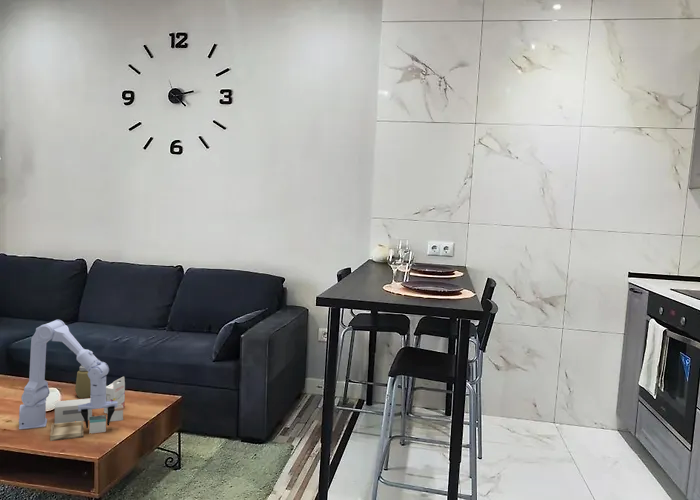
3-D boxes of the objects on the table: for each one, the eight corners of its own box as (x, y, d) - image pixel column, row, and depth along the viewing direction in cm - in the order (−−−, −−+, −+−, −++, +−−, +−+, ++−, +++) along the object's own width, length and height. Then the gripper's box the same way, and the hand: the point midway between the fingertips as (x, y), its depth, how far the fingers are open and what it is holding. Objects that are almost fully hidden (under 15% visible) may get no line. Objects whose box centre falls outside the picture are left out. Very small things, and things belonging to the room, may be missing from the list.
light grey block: (107, 421, 237) (107, 409, 236) (107, 418, 240) (107, 405, 240) (123, 420, 239) (123, 407, 239) (122, 416, 243) (122, 404, 242)
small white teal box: (89, 433, 225) (89, 420, 224) (89, 429, 228) (89, 416, 228) (105, 431, 227) (106, 418, 227) (105, 427, 231) (105, 414, 230)
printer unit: (54, 424, 231) (54, 407, 230) (55, 417, 238) (55, 401, 237) (91, 420, 237) (92, 404, 236) (91, 413, 244) (92, 397, 243)
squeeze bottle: (97, 395, 264) (98, 358, 262) (81, 400, 257) (82, 362, 255) (87, 391, 268) (87, 355, 266) (71, 396, 261) (71, 358, 259)
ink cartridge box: (114, 406, 253) (115, 374, 252) (124, 407, 252) (125, 375, 251) (103, 413, 245) (103, 380, 244) (113, 414, 244) (113, 382, 243)
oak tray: (50, 440, 216) (50, 435, 216) (51, 428, 227) (51, 424, 227) (83, 437, 221) (83, 432, 221) (83, 425, 232) (83, 420, 231)
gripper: (117, 388, 233) (116, 419, 234) (78, 391, 227) (77, 424, 228) (118, 394, 227) (117, 426, 228) (78, 397, 220) (77, 431, 222)
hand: (97, 425), depth 228 cm, fingers open, 7 cm apart
